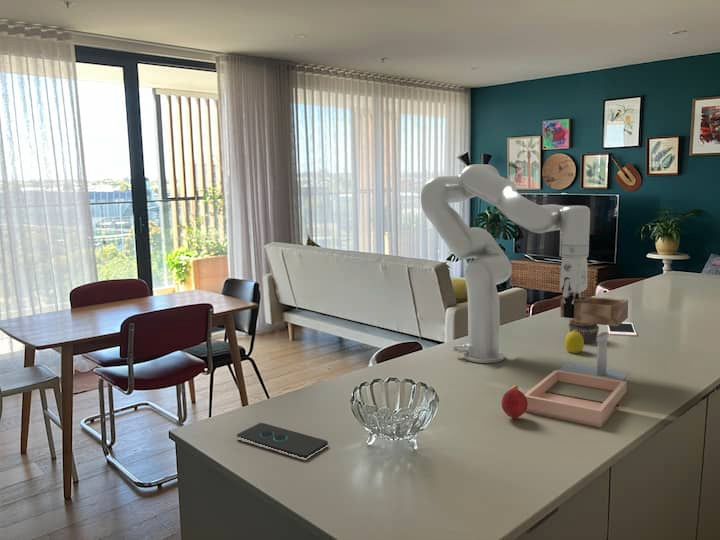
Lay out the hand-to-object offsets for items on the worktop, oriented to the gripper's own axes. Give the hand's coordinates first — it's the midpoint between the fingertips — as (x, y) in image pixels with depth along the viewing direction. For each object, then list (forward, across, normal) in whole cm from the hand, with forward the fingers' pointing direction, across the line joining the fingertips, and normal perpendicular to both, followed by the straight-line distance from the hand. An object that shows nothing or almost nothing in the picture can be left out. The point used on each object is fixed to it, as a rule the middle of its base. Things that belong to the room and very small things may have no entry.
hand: (571, 315), depth 165 cm
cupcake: (+17, +37, +7) cm, 41 cm away
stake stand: (+17, 0, -6) cm, 18 cm away
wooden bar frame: (0, 0, -5) cm, 5 cm away
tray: (+16, -22, -8) cm, 29 cm away
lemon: (+17, +18, +4) cm, 25 cm away
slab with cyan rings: (+18, -78, +37) cm, 88 cm away
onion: (+17, -39, 0) cm, 42 cm away
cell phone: (+17, +58, 0) cm, 60 cm away
